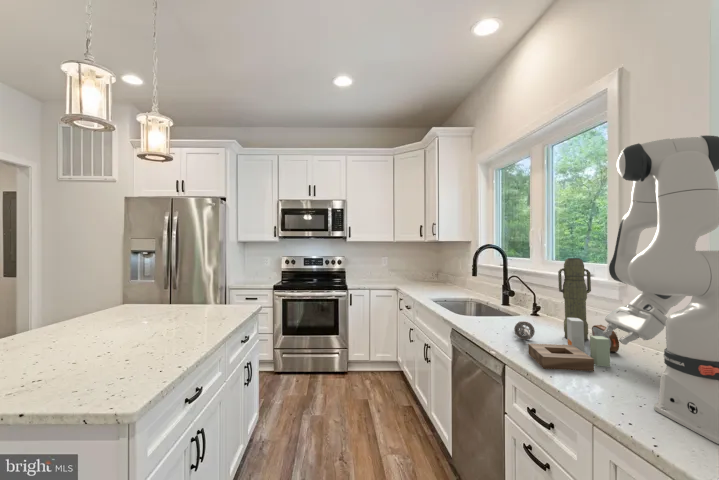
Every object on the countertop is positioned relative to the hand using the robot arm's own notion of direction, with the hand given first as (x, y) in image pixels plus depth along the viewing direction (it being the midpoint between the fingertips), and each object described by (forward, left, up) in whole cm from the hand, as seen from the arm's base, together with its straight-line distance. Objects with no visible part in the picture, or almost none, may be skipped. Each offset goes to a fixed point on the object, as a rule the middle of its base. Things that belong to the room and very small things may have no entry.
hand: (613, 338), depth 110 cm
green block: (0, +4, -9) cm, 10 cm away
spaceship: (+28, +20, -9) cm, 35 cm away
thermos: (+33, -3, -9) cm, 34 cm away
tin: (+19, -7, -9) cm, 22 cm away
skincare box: (+15, +5, -9) cm, 18 cm away
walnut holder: (0, +17, -9) cm, 19 cm away
